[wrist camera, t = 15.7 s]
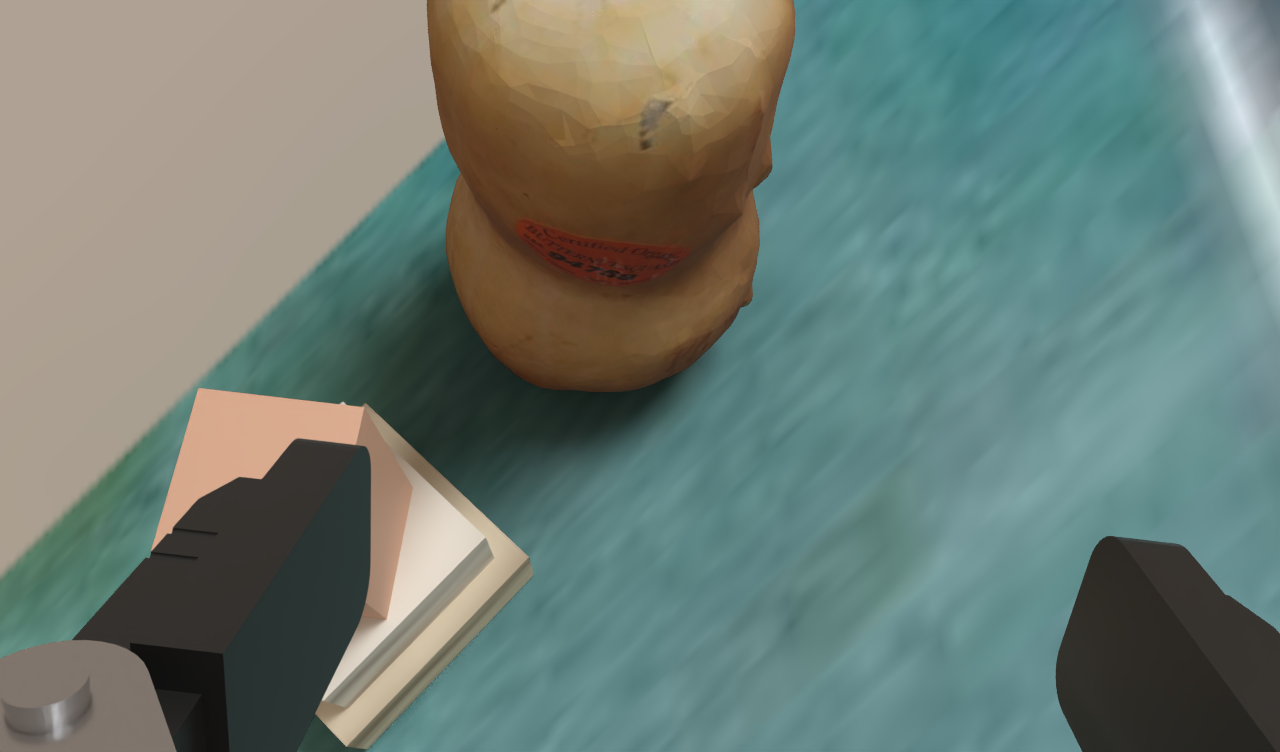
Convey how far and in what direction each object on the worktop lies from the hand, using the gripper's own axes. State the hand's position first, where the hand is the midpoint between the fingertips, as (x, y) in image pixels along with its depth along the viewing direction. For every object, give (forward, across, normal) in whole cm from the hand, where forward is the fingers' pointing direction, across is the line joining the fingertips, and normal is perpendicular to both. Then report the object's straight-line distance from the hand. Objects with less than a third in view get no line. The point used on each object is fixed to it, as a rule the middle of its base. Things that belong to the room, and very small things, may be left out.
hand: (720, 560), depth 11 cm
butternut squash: (+38, +3, +11) cm, 40 cm away
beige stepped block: (+28, +12, +21) cm, 37 cm away
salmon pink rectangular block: (+22, +12, +16) cm, 29 cm away
